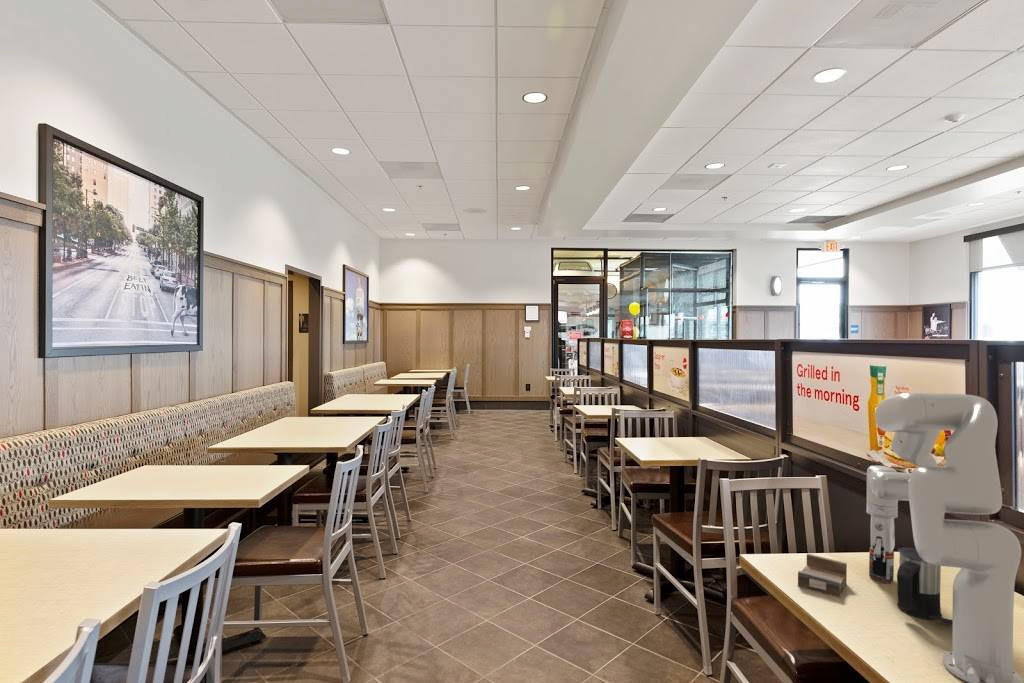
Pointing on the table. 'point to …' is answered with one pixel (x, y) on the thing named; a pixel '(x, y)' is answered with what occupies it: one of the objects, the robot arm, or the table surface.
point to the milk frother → (919, 586)
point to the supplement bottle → (890, 567)
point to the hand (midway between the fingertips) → (881, 570)
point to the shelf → (823, 575)
